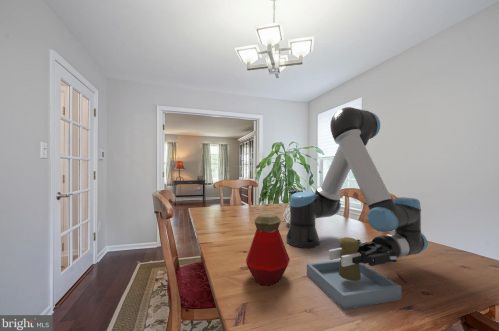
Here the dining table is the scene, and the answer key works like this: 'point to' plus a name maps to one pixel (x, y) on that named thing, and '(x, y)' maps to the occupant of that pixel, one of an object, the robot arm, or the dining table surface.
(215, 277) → the dining table surface
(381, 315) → the dining table surface
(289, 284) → the dining table surface
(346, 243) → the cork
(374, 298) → the tray
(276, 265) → the bottle
